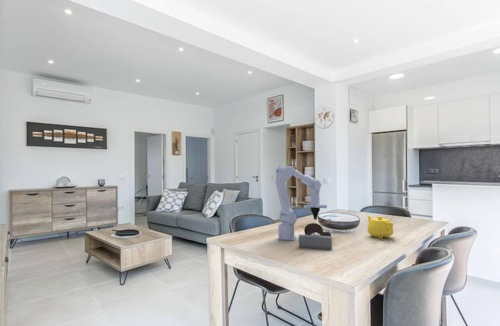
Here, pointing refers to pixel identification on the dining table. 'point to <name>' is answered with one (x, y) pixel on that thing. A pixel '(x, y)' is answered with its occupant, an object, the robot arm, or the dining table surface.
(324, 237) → the block
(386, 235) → the teapot
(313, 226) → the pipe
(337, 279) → the dining table surface
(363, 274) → the dining table surface
